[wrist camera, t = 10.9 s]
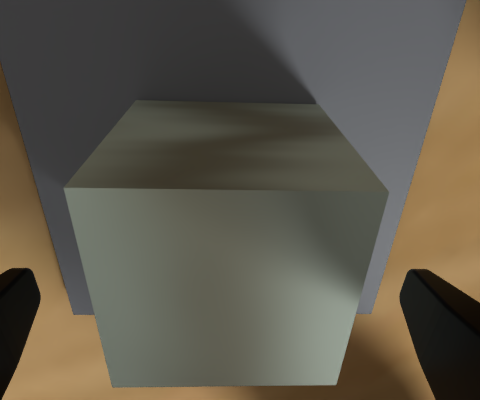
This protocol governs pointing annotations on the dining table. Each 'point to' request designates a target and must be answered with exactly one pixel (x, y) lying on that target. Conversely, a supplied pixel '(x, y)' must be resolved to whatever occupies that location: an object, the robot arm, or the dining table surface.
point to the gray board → (223, 83)
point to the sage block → (225, 243)
